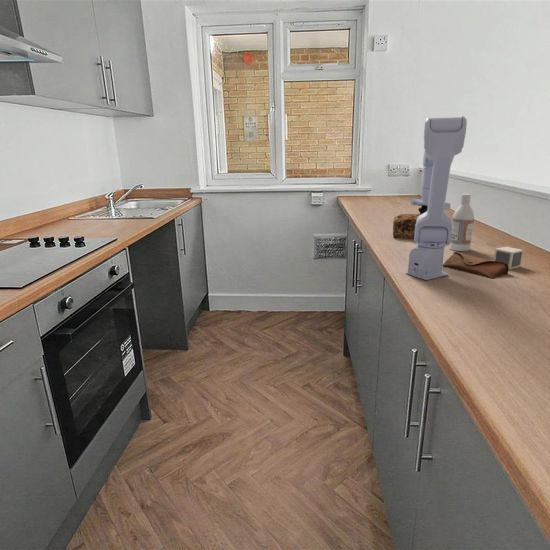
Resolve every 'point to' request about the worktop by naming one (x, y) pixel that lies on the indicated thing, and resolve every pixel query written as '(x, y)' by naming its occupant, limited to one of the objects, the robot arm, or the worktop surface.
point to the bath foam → (462, 225)
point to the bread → (404, 226)
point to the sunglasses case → (476, 265)
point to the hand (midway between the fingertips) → (427, 228)
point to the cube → (509, 256)
